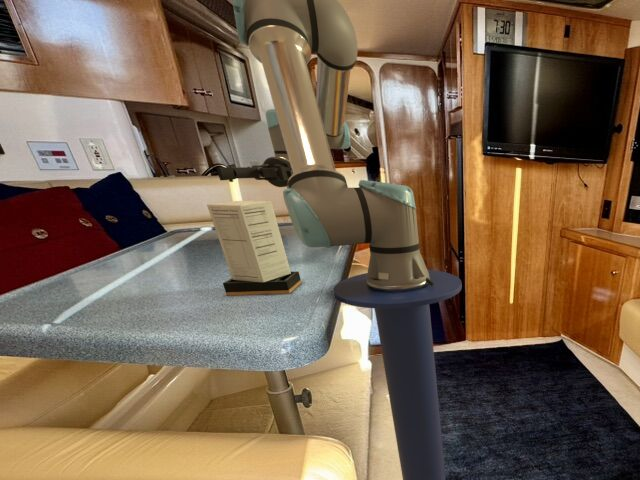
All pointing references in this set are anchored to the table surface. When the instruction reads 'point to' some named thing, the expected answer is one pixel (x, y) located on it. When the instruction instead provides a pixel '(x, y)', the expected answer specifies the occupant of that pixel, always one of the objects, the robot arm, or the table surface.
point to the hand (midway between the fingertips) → (250, 174)
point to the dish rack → (263, 286)
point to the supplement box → (250, 240)
